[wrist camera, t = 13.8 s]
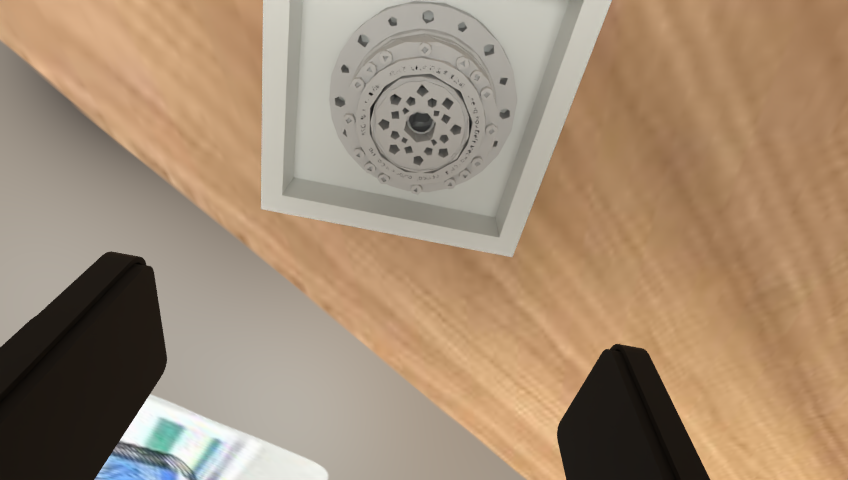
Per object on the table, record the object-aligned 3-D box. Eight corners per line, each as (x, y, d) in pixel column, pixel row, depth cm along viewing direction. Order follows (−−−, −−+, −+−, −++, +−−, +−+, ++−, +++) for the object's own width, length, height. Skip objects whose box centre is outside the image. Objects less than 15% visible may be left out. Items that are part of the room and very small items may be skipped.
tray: (599, -29, 23) (621, -25, 20) (506, 229, 31) (512, 257, 28) (286, -107, 21) (264, -114, 19) (277, 184, 30) (261, 209, 27)
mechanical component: (549, 109, 26) (432, -49, 22) (567, 137, 22) (431, -47, 18) (416, 209, 29) (297, 90, 26) (412, 248, 26) (272, 116, 22)
